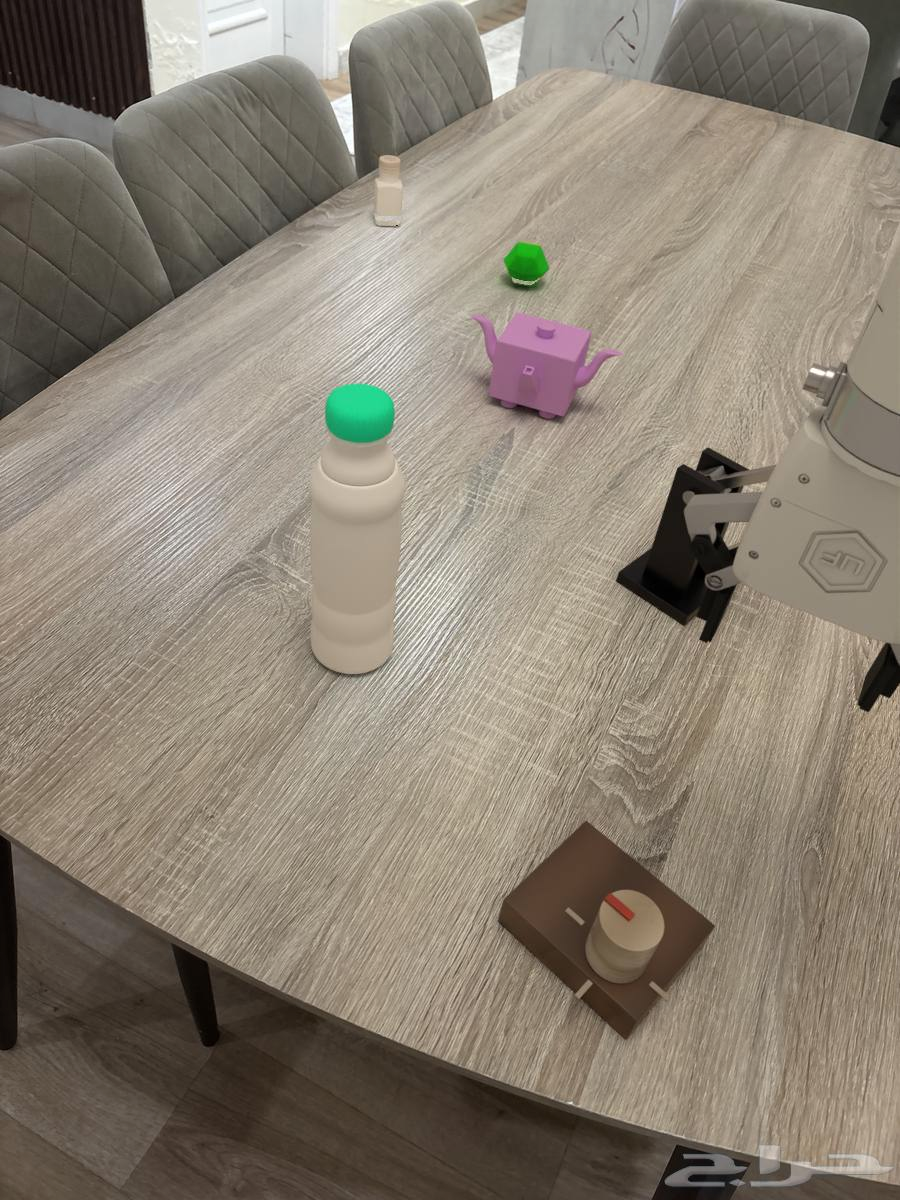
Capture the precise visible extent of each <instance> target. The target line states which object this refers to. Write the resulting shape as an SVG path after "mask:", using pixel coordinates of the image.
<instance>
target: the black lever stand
mask: <svg viewBox="0 0 900 1200" xmlns="http://www.w3.org/2000/svg"><path fill="white" fill-rule="evenodd" d="M698 459H699V460H698V463H697V466H696V468H695V469H694V468H692V467H690V466H688V465H686V464H685V463H682V464H681V465H679V466H678V467H676V471H675V474H674V477H673V480H672V482H671V486H670V490H669V492H668V496H667V499H666V502H665V505H664V508H663V511H662V514H661V518H660V521H659V524H658V527H657V529H656V533H655V536H654V538H653V541H652V545H651V548H649V549H648V550H646V551H645V552H643V553H642V554H641V555H640V556H638V557H637V558H635V559H634V560H633V561H631V562H630V563H628V564H627V565H625V567H624V568H622V569H620V570H619V571H618V573H617V576H616V579H615V581H616V583H619V584H620V585H621V586H623V587H625V588H626V589H628V590H629V591H631V592H632V593H634V594H635V595H637V596H639V598H641V599H643V600H645V601H646V602H647V603H649V604H651V605H652V606H654V607H655V608H656V609H657V610H660V611H661V612H663V613H664V614H666V615H667V616H669V617H670V618H672V619H673V620H675V621H676V622H678V623H679V624H681V625H682V626H685V625H687V624H688V623H689V622H691V620H693V619H694V618H696V616H697V613H698V611H699V608H700V606H701V603H702V601H703V598H704V596H705V593H706V591H707V588H708V587H707V586H706V584H705V577H706V574H705V573H704V571H703V569H702V568H701V566H700V564H699V562H698V561H697V559H696V557H695V556H694V554H693V552H692V551H691V548H690V544H691V537H690V535H689V533H688V529H687V524H686V520H685V515H684V509H685V507H686V506H687V504H688V502H689V501H690V499H691V497H692V496H694V495H700V494H723V493H724V491H725V489H726V488H725V487H724V486H722V485H720V484H719V483H717V482H715V481H713V480H712V479H710V478H708V477H706V476H704V475H703V474H701V473H699V472H697V471H700V470H705V469H709V468H714V467H719V466H723V467H724V470H725V472H726V474H732V473H737V472H742V471H747V470H750V469H749V468H747V467H745V466H744V465H741V464H739V463H738V462H736V461H734V460H732V459H731V458H728V457H727V456H725V455H723V454H721V453H719V452H718V451H716V450H714V449H712V448H710V447H708V446H707V447H705V449H703V450H702V452H701V453H700V457H699V458H698ZM744 487H745V486H740V487H735V488H731V491H730V492H729V493H743V492H742V491H743V489H744ZM730 523H731V522H729V523H715V528H716V529H717V530H718V532H719V533H720V535H721V537H722V539H723V540H724V538H725V535H726V533H727V530H728V527H729V525H730Z"/></svg>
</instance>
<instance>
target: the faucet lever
mask: <svg viewBox="0 0 900 1200" xmlns="http://www.w3.org/2000/svg"><path fill="white" fill-rule="evenodd" d="M776 465H777V464H773V465H766V466H763V467H757V468H752V469H749V470H747V471H742V472H737V473H732V474H726V472H725V470H724V467H723V466H719V467H714V468H709V469H705V470H700V471H697V472H699V473H701V474H703V475H704V476H706V477H708V478H710V479H712V480H713V481H715V482H717V483H719V484H720V485H722V486H724V487H725V488H726V489H725V491H724V493H729V492H730V491H731V488H735V487H740V486H744V487H745V486H751V485H756V484H761V483H767V482H768V480H769V478H770V476H771V474H772V472H773V470H774V468H775V467H776Z"/></svg>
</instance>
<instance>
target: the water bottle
mask: <svg viewBox="0 0 900 1200" xmlns="http://www.w3.org/2000/svg"><path fill="white" fill-rule="evenodd" d="M324 411H325V412H324V417H325V420H324V421H325V425H326V431H327V433H328V435H329V436H330V439H329V441H328V442H327V443H326V444H325V445H324V447H323V449H322V451H321V454H320V455H319V457H318V458H317V460H316V461H315V464H314V466H313V467H312V469H311V472H310V475H309V480H308V490H309V491H308V492H309V495H310V499H311V504H310V516H309V517H310V518H309V555H310V556H309V558H310V559H309V560H310V573H311V574H310V575H311V582H312V586H311V591H310V611H311V616H312V618H311V624H310V646H311V650H312V653H313V655H314V656H315V658H316V659H317V661H318V662H319V663H320V664H322V665H323V666H324V667H326V668H327V669H329V670H331V671H334V672H336V673H340V674H344V675H360V674H366V673H368V672H372V671H373V670H376V669H378V668H379V667H381V666H383V665H384V663H386V661H387V660H388V659H389V657H390V656H391V655H392V652H393V649H394V641H395V622H394V619H395V615H396V611H397V589H396V586H397V585H396V584H397V581H398V580H397V579H398V575H399V566H400V558H401V548H402V531H403V530H402V529H403V526H402V525H403V510H402V509H403V508H402V504H403V501H404V498H405V494H406V480H405V475H404V472H403V470H402V468H401V465H400V464H399V462H398V461H397V459H396V456H395V453H394V450H393V449H392V446H391V445H390V444H389V442H388V441H387V440H388V439H389V438H390V437H391V435H392V431H393V429H394V423H395V417H396V416H395V414H396V413H395V411H396V410H395V403H394V401H393V399H392V397H391V396H390V394H388V392H387V391H386V390H384V389H382V388H380V387H378V386H376V385H372V384H367V383H357V382H356V383H350V384H345V385H341V386H337V387H336V388H334V389H333V390H332V391H331V392H330V393H329V394H328V396H327V398H326V402H325V406H324Z"/></svg>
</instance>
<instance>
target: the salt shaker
mask: <svg viewBox="0 0 900 1200" xmlns="http://www.w3.org/2000/svg"><path fill="white" fill-rule="evenodd" d="M401 161H402V160H401V158H400V157H399V156H397V155H391V154H384V155H381V156H380V157H379V158H378V177H375V179H374V192H373V211H374V210H375V214H376V215H378V216H399V215H401V216H402V211H403V210H402V208H403V195H404V194H403V192H404V187H403V182H402V180H401V178H400V173H401V164H402V163H401ZM373 218H374V223H375V225H376V226H378V227H379V226H380V227H400V225H401V223H399V224H400V225H398V224H397V223H395V222H392V221H377V220H376V219H375V216H374V215H373ZM395 224H396V225H398V226H396V225H395Z"/></svg>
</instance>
